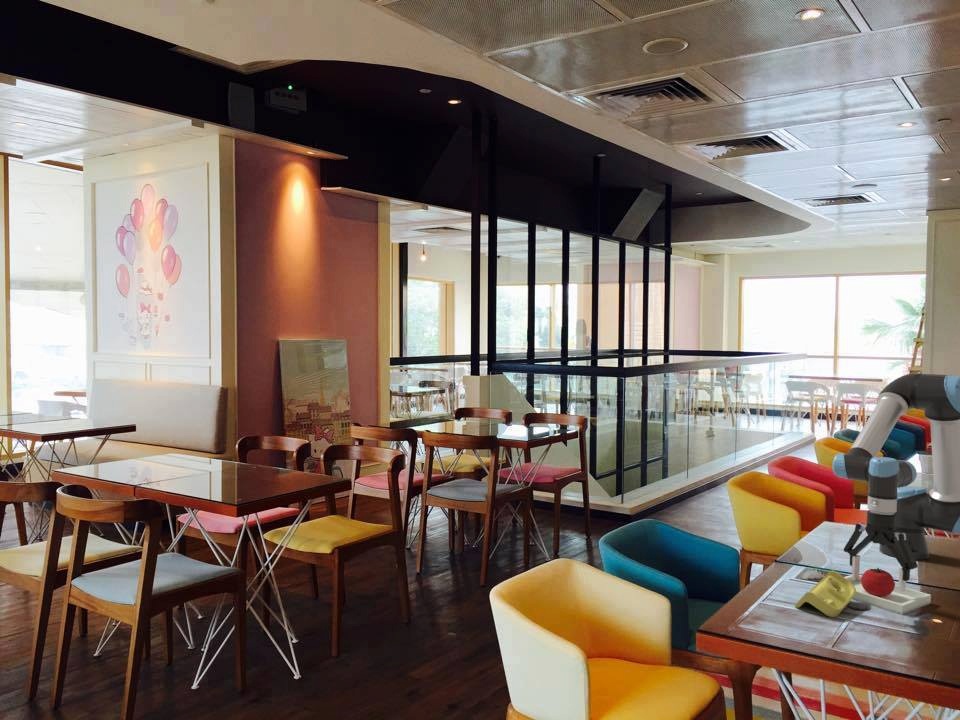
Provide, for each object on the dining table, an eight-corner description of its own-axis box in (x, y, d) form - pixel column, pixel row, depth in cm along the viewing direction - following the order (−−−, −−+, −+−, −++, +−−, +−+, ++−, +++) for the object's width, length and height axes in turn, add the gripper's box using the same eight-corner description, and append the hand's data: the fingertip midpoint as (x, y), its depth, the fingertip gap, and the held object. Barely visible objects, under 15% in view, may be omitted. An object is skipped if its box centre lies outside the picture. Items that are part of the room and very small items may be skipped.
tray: (855, 581, 241) (855, 573, 241) (930, 603, 224) (931, 594, 224) (826, 590, 232) (826, 582, 232) (902, 614, 214) (902, 605, 214)
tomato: (867, 599, 224) (868, 571, 223) (855, 589, 233) (856, 562, 232) (899, 601, 223) (901, 573, 223) (886, 590, 232) (888, 563, 231)
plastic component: (838, 611, 209) (804, 587, 215) (825, 632, 212) (792, 608, 217) (860, 588, 224) (828, 566, 229) (848, 607, 227) (816, 585, 232)
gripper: (833, 504, 235) (830, 574, 236) (920, 523, 214) (916, 599, 215) (847, 501, 239) (843, 570, 240) (933, 519, 219) (929, 594, 220)
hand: (878, 584), depth 228 cm, fingers open, 13 cm apart
